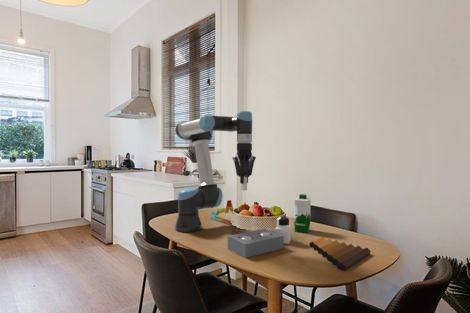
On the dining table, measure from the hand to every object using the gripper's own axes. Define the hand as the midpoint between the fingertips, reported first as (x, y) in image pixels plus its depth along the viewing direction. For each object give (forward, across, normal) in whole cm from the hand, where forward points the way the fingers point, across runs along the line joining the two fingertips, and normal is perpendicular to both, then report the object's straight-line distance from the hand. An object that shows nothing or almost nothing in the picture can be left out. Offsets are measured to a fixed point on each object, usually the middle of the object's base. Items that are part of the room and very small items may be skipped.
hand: (244, 189), depth 150 cm
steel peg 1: (+25, -7, -12) cm, 28 cm away
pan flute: (+26, +22, -36) cm, 50 cm away
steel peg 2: (+25, +4, -12) cm, 28 cm away
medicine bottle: (+26, +16, -11) cm, 33 cm away
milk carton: (+26, +38, -3) cm, 47 cm away
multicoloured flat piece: (+27, +11, +34) cm, 45 cm away
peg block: (+26, -2, -12) cm, 28 cm away
